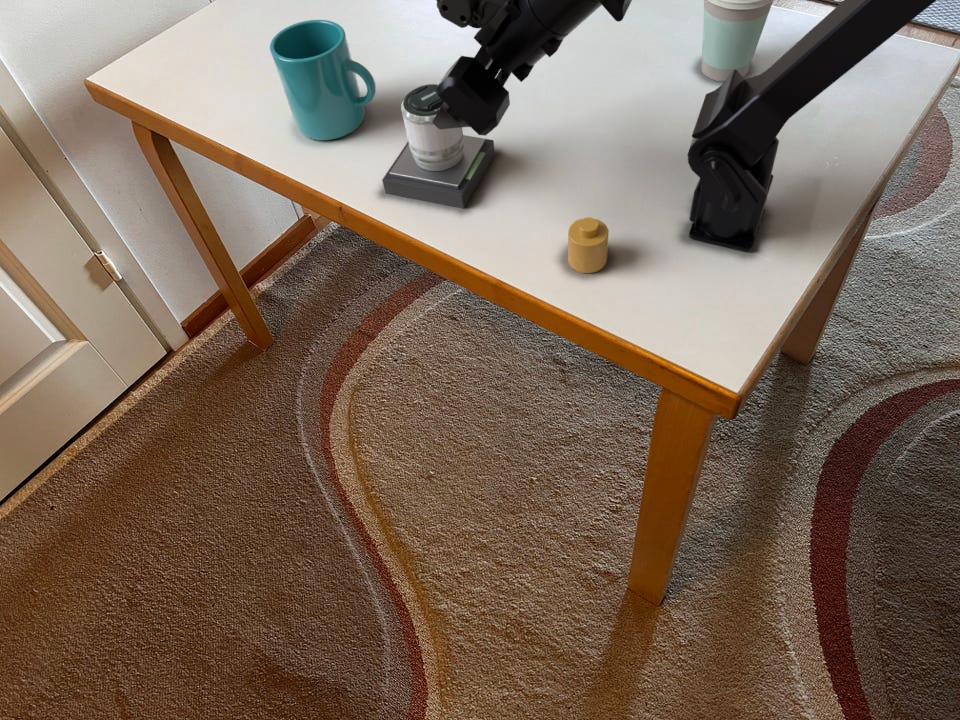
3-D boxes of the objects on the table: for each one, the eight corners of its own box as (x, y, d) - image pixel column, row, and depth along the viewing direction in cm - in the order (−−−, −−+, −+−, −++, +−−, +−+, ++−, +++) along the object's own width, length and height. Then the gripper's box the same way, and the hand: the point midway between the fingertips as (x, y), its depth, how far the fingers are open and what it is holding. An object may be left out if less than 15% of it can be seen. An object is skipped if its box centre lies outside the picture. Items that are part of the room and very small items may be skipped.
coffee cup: (737, 44, 95) (756, -51, 85) (772, 77, 90) (797, -20, 80) (678, 60, 94) (691, -34, 84) (710, 95, 89) (728, -1, 79)
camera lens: (476, 154, 82) (469, 93, 76) (434, 181, 80) (423, 121, 74) (442, 131, 86) (433, 71, 79) (401, 156, 83) (387, 97, 77)
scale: (495, 153, 86) (493, 135, 84) (463, 208, 81) (461, 190, 79) (420, 141, 89) (416, 123, 87) (385, 193, 84) (380, 175, 82)
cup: (370, 149, 89) (349, 66, 80) (285, 138, 92) (255, 57, 83) (397, 106, 94) (379, 23, 85) (315, 97, 97) (290, 16, 88)
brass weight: (612, 251, 75) (614, 215, 71) (599, 277, 73) (601, 242, 69) (575, 242, 76) (576, 206, 72) (562, 268, 74) (562, 232, 70)
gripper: (521, -114, 66) (431, -4, 78) (442, -12, 56) (352, 95, 68) (602, -19, 70) (504, 70, 82) (541, 91, 60) (440, 174, 72)
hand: (453, 99), depth 76 cm, fingers open, 9 cm apart
